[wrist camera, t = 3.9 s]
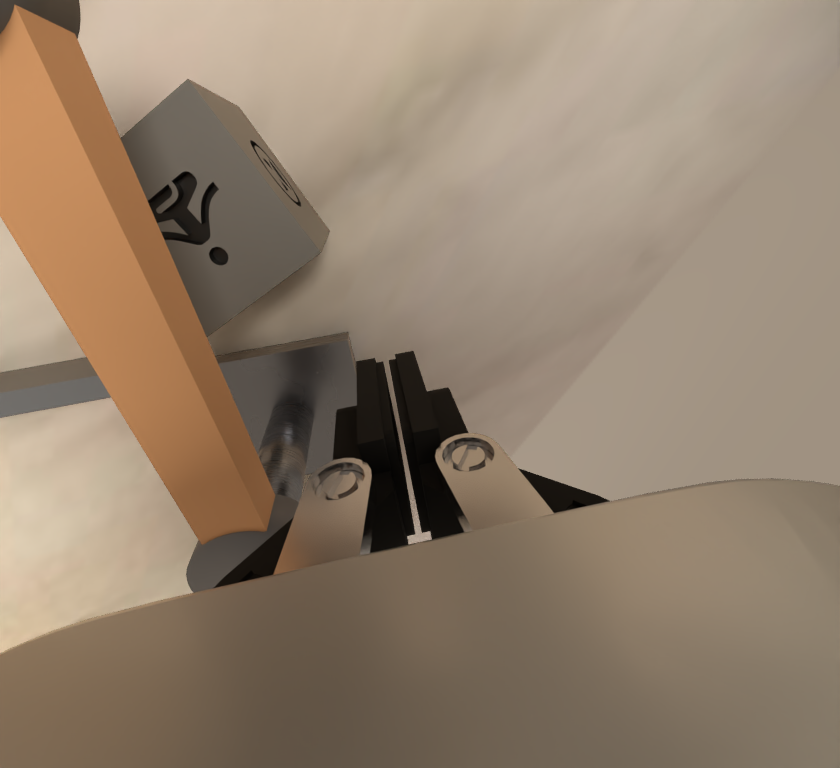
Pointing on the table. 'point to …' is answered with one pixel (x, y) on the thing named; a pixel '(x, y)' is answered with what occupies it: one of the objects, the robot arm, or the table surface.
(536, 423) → the table surface
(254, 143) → the dice cube
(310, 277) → the table surface
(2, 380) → the frame
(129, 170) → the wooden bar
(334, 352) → the grey post stand
